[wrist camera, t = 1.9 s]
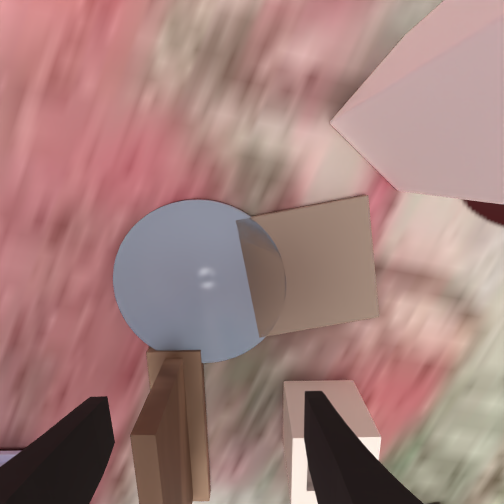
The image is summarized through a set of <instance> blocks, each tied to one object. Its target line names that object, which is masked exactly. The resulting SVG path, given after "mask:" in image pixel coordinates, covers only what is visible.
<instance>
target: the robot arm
mask: <svg viewBox="0 0 504 504" xmlns="http://www.w3.org/2000/svg"><path fill="white" fill-rule="evenodd" d="M304 442H305V448H306V455H307V461H308V467H309V471H310V475H311V479H312V483H313V487H314V491H315V495H316V499H317V502H318V504H424V503H422V502H421V501H420V500H419V499H418V498H417V497H415V496H414V495H413V494H412V493H411V492H410V491H409V490H408V489H407V488H405V487H404V486H403V485H402V484H401V483H400V482H399V481H398V480H397V479H396V478H395V477H394V476H393V475H392V474H391V473H390V472H389V471H388V470H387V469H386V468H385V467H384V466H383V465H382V464H381V463H380V462H379V461H378V460H377V458H376V457H375V456H374V455H373V454H372V453H371V452H370V451H369V450H368V449H367V448H366V446H365V445H364V444H363V443H362V442H361V441H360V439H359V438H358V437H357V436H356V435H355V433H354V432H353V431H352V430H351V429H350V427H349V426H348V425H347V424H346V422H345V421H344V420H343V418H342V417H341V416H340V415H339V413H338V412H337V411H336V409H335V408H334V406H333V405H332V404H331V402H330V401H329V399H328V398H327V397H326V395H325V394H324V393H323V392H322V391H305V405H304ZM114 443H115V440H114V434H113V428H112V422H111V417H110V411H109V405H108V399H107V396H106V397H90V398H88V399H87V400H86V401H84V402H83V403H82V404H80V405H79V406H78V407H77V408H75V409H74V410H73V411H72V412H70V413H69V414H68V415H67V416H65V417H64V418H63V419H62V420H60V421H59V422H58V423H57V424H56V425H54V426H53V427H52V428H50V429H49V430H48V431H47V432H45V433H44V434H43V435H42V436H40V437H39V438H38V439H37V440H35V441H34V442H33V443H31V444H30V445H29V446H27V447H26V448H25V449H23V450H22V451H0V504H89V503H90V501H91V499H92V497H93V495H94V493H95V491H96V488H97V486H98V484H99V482H100V480H101V478H102V476H103V474H104V471H105V469H106V466H107V463H108V461H109V458H110V455H111V452H112V449H113V446H114Z"/></svg>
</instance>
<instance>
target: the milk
mask: <svg viewBox="0 0 504 504" xmlns="http://www.w3.org/2000/svg"><path fill="white" fill-rule="evenodd" d="M330 124H331V125H332V126H333V127H334V128H335V129H336V130H337V131H338V132H339V133H340V134H341V135H342V136H343V137H344V138H345V139H346V140H347V141H348V142H349V143H350V144H351V145H352V146H353V147H354V148H355V149H356V150H357V151H358V152H359V153H360V154H361V155H362V156H363V157H364V158H365V159H366V160H367V161H368V162H369V163H370V164H371V165H372V166H373V167H374V168H375V169H376V170H377V171H378V172H379V173H380V174H381V175H382V176H383V177H384V178H385V179H386V180H387V181H388V182H389V183H390V184H391V185H392V186H393V187H394V188H395V189H396V190H398V191H402V192H410V193H418V194H426V195H434V196H442V197H450V198H458V199H465V200H473V201H482V202H489V203H497V204H504V0H444V1H443V2H442V3H441V4H439V5H438V6H437V7H436V8H435V9H434V10H433V11H432V12H430V13H429V14H428V15H427V16H426V17H425V18H424V19H422V20H421V21H420V22H419V23H418V24H417V25H416V26H415V27H413V28H412V29H411V30H410V31H409V32H408V33H407V34H406V35H405V36H404V37H403V38H402V39H401V40H400V41H399V42H398V44H397V45H396V46H395V47H394V48H393V49H392V50H391V52H390V53H389V54H388V55H387V56H386V57H385V59H384V60H383V61H382V62H381V63H380V64H379V65H378V67H377V68H376V69H375V70H374V71H373V72H372V74H371V75H370V76H369V77H368V78H367V79H366V80H365V82H364V83H363V84H362V85H361V86H360V87H359V88H358V90H357V91H356V92H355V93H354V94H353V95H352V97H351V98H350V99H349V100H348V101H347V102H346V103H345V105H344V106H343V107H342V108H341V109H340V110H339V112H338V113H337V114H336V115H335V116H334V117H333V118H332V120H331V121H330Z"/></svg>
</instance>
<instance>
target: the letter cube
mask: <svg viewBox="0 0 504 504" xmlns="http://www.w3.org/2000/svg"><path fill="white" fill-rule="evenodd" d="M305 391H322V392H323V393H324V394H325V395H326V397H327V398H328V399H329V401H330V402H331V404H332V405H333V406H334V408H335V409H336V411H337V412H338V413H339V415H340V416H341V417H342V418H343V420H344V421H345V422H346V424H347V425H348V426H349V427H350V429H351V430H352V431H353V432H354V433H355V435H356V436H357V437H358V438H359V439H360V441H361V442H362V443H363V444H364V445H365V446H366V448H367V449H368V450H369V451H370V452H371V453H372V454H373V455H374V456H375V457H376V458H377V460H378V461H379V452H380V444H381V435H380V433H379V431H378V429H377V427H376V425H375V423H374V421H373V419H372V417H371V415H370V413H369V411H368V409H367V407H366V405H365V403H364V401H363V399H362V397H361V395H360V393H359V391H358V389H357V387H356V385H355V383H354V381H353V380H317V381H284V389H283V444H284V452H285V460H286V468H287V477H288V485H289V493H290V501H291V504H318V502H317V499H316V495H315V491H314V487H313V483H312V479H311V475H310V471H309V467H308V461H307V455H306V448H305V442H304V405H305Z"/></svg>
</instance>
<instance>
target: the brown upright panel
mask: <svg viewBox="0 0 504 504" xmlns="http://www.w3.org/2000/svg"><path fill="white" fill-rule="evenodd" d="M146 355H147V364H148V373H149V382H150V393H149V395H148V397H147V399H146V402H145V404H144V406H143V408H142V410H141V413H140V415H139V417H138V419H137V421H136V424H135V426H134V428H133V430H132V432H131V435H130V437H131V445H132V452H133V460H134V467H135V475H136V482H137V489H138V497H139V504H192V501H209V499H210V473H209V456H208V439H207V422H206V404H205V387H204V370H203V363H201V350H171V351H157V350H155V349H153V348H152V347H149V349H148V350H147V352H146Z"/></svg>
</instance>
